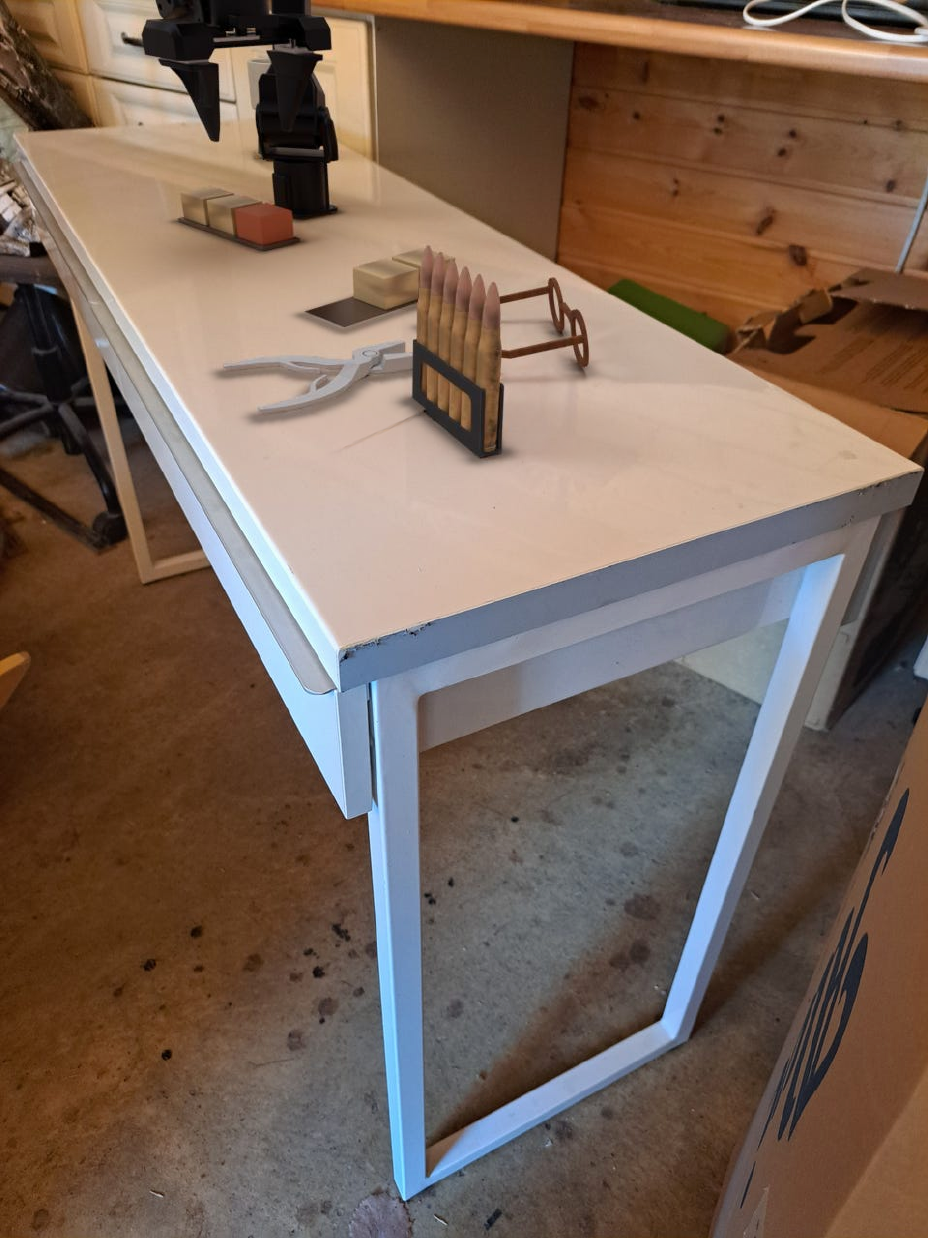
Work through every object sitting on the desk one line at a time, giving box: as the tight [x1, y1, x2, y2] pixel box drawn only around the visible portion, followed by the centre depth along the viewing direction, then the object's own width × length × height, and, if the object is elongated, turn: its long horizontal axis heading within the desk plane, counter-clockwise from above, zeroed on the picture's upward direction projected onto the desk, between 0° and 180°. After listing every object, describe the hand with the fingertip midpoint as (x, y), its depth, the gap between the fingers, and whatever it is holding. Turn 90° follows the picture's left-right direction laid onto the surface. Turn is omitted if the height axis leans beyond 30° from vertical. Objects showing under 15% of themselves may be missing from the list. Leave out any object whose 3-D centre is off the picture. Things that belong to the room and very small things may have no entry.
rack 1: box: [177, 185, 301, 252], centre depth 104 cm, size 16×6×3 cm, turn 49°
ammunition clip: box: [411, 244, 505, 459], centre depth 63 cm, size 11×2×12 cm, turn 30°
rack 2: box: [304, 247, 456, 328], centre depth 86 cm, size 16×6×3 cm, turn 139°
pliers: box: [222, 339, 413, 415], centre depth 72 cm, size 10×2×15 cm
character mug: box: [246, 57, 271, 156], centre depth 134 cm, size 11×7×13 cm, turn 26°
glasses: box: [499, 276, 590, 368], centre depth 77 cm, size 13×13×5 cm
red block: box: [235, 202, 295, 245], centre depth 101 cm, size 5×5×3 cm
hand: (251, 135), depth 90 cm, fingers open, 9 cm apart
